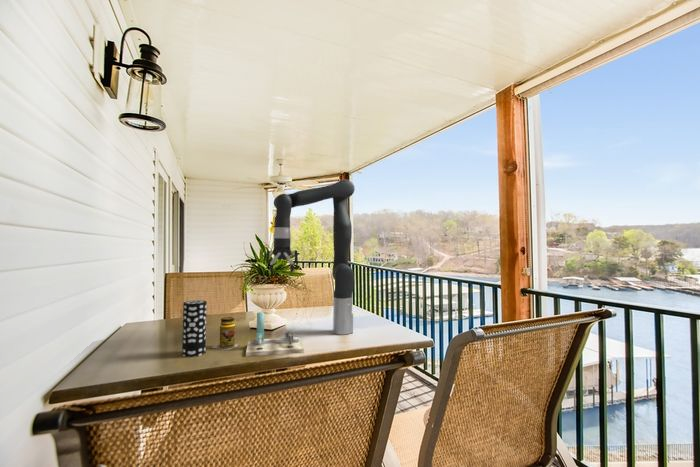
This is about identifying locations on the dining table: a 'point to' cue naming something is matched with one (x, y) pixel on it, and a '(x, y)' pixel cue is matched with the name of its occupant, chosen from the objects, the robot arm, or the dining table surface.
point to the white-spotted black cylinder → (194, 328)
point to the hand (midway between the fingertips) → (281, 272)
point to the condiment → (227, 334)
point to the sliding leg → (260, 327)
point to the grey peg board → (275, 346)
